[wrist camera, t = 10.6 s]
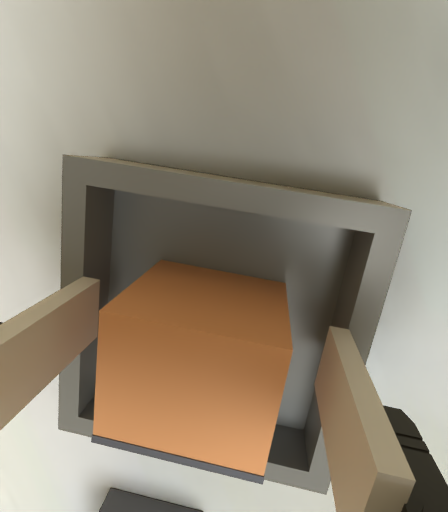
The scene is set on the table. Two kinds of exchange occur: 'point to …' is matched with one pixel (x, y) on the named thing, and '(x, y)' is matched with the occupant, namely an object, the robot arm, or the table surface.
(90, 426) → the tray
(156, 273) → the stub
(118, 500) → the block
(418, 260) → the table surface
